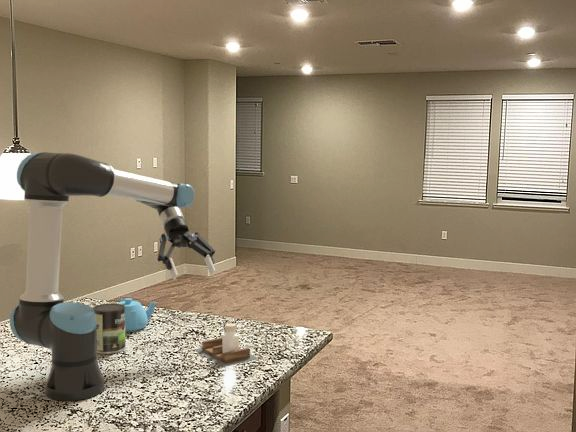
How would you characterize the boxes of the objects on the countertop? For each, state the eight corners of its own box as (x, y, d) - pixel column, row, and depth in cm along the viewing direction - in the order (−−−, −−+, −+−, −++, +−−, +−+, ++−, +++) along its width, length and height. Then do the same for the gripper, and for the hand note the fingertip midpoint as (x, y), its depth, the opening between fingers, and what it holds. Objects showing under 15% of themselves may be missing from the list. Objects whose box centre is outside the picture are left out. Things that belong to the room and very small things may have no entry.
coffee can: (131, 345, 209) (130, 304, 207) (116, 355, 199) (116, 312, 197) (102, 342, 211) (102, 302, 209) (87, 352, 201) (86, 310, 199)
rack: (202, 350, 204) (202, 341, 203) (225, 345, 209) (225, 336, 209) (225, 363, 192) (225, 354, 192) (249, 357, 197) (249, 348, 197)
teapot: (123, 319, 239) (122, 291, 238) (157, 323, 234) (157, 295, 233) (98, 330, 225) (97, 301, 223) (134, 335, 220) (134, 305, 218)
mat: (259, 359, 197) (259, 358, 197) (223, 368, 189) (223, 367, 189) (227, 343, 212) (227, 342, 212) (193, 350, 204) (193, 349, 204)
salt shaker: (230, 350, 201) (230, 322, 199) (239, 353, 198) (239, 324, 197) (221, 354, 198) (221, 324, 196) (230, 357, 195) (230, 327, 194)
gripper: (203, 228, 222) (224, 277, 211) (136, 232, 207) (155, 285, 196) (210, 215, 217) (232, 264, 206) (143, 218, 202) (162, 271, 191)
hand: (195, 275), depth 201 cm, fingers open, 13 cm apart
